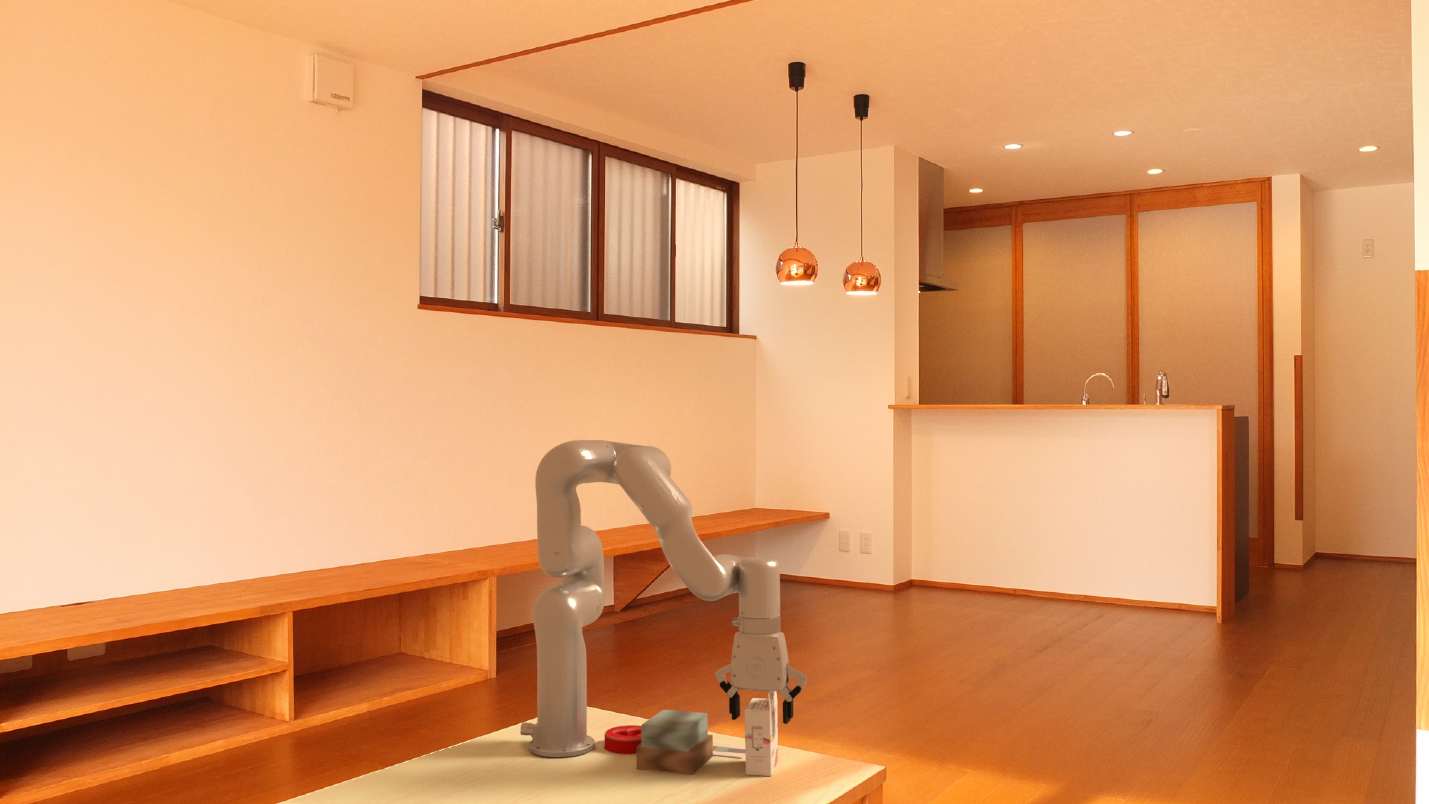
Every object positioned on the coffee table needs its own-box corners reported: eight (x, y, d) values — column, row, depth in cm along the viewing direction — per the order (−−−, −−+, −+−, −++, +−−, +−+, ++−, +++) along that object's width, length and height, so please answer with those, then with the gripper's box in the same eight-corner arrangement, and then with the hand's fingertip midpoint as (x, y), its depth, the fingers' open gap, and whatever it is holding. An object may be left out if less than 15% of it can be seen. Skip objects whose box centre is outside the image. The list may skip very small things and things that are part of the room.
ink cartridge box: (752, 760, 193) (751, 681, 194) (778, 762, 192) (777, 682, 193) (744, 775, 185) (743, 692, 185) (771, 777, 184) (771, 693, 184)
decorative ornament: (623, 759, 195) (623, 742, 195) (594, 747, 203) (594, 730, 203) (663, 748, 202) (663, 732, 202) (634, 737, 209) (634, 721, 209)
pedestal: (636, 768, 189) (636, 724, 189) (658, 751, 199) (658, 709, 199) (693, 774, 185) (693, 729, 186) (712, 756, 196) (712, 713, 196)
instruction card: (691, 753, 198) (691, 752, 198) (703, 742, 204) (703, 741, 204) (741, 758, 194) (741, 756, 194) (751, 747, 201) (751, 746, 201)
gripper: (708, 627, 189) (709, 722, 188) (801, 631, 183) (802, 729, 183) (721, 620, 196) (722, 711, 195) (810, 624, 190) (812, 718, 190)
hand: (761, 720), depth 189 cm, fingers open, 9 cm apart
